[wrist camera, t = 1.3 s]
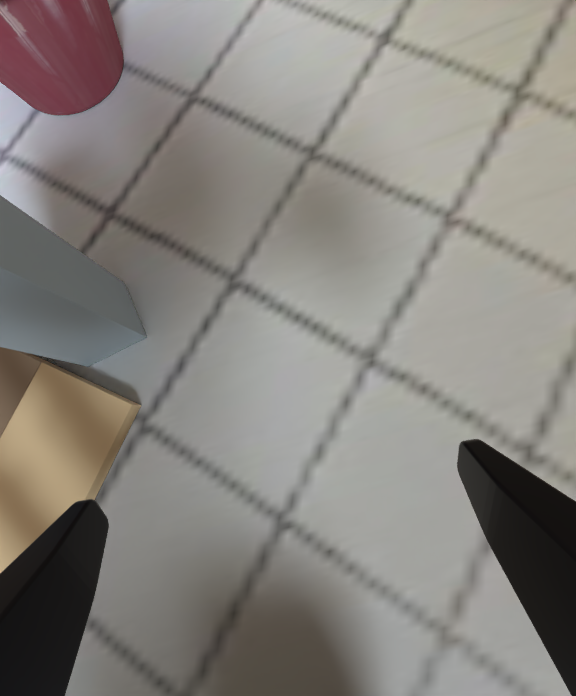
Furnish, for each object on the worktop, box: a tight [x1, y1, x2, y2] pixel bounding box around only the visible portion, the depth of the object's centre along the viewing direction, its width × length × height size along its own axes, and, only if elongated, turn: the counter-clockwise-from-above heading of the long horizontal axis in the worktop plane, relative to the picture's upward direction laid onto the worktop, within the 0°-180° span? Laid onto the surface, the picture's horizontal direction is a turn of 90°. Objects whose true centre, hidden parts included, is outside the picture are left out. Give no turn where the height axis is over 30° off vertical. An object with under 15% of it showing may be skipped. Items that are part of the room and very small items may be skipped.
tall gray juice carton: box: [0, 195, 147, 366], centre depth 19 cm, size 4×4×13 cm
